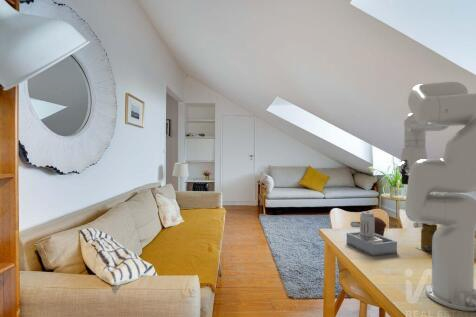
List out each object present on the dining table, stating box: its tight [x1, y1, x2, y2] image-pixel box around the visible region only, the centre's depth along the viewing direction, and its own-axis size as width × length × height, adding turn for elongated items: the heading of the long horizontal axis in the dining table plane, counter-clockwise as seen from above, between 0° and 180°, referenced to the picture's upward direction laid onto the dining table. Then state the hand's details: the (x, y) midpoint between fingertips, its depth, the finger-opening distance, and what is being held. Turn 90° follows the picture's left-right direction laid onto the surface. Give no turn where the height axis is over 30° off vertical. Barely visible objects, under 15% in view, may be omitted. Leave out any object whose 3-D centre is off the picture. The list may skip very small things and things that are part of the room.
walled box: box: [346, 231, 398, 257], centre depth 116 cm, size 16×13×5 cm
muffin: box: [374, 216, 387, 237], centre depth 132 cm, size 12×11×10 cm
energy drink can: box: [359, 211, 376, 241], centre depth 118 cm, size 6×6×15 cm
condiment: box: [415, 223, 438, 255], centre depth 113 cm, size 7×8×12 cm
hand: (414, 183), depth 109 cm, fingers open, 9 cm apart
